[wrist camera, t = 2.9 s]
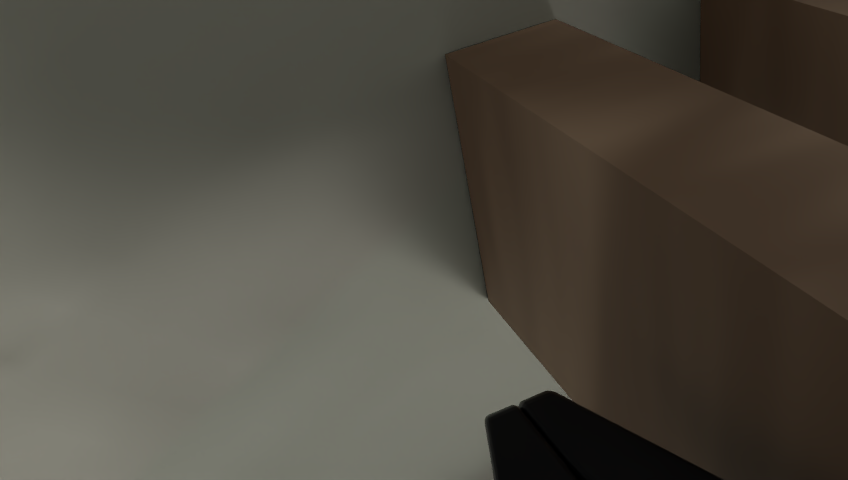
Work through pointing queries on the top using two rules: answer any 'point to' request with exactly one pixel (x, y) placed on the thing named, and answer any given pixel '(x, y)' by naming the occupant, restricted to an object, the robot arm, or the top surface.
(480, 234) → the domino
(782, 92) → the domino
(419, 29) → the top surface
